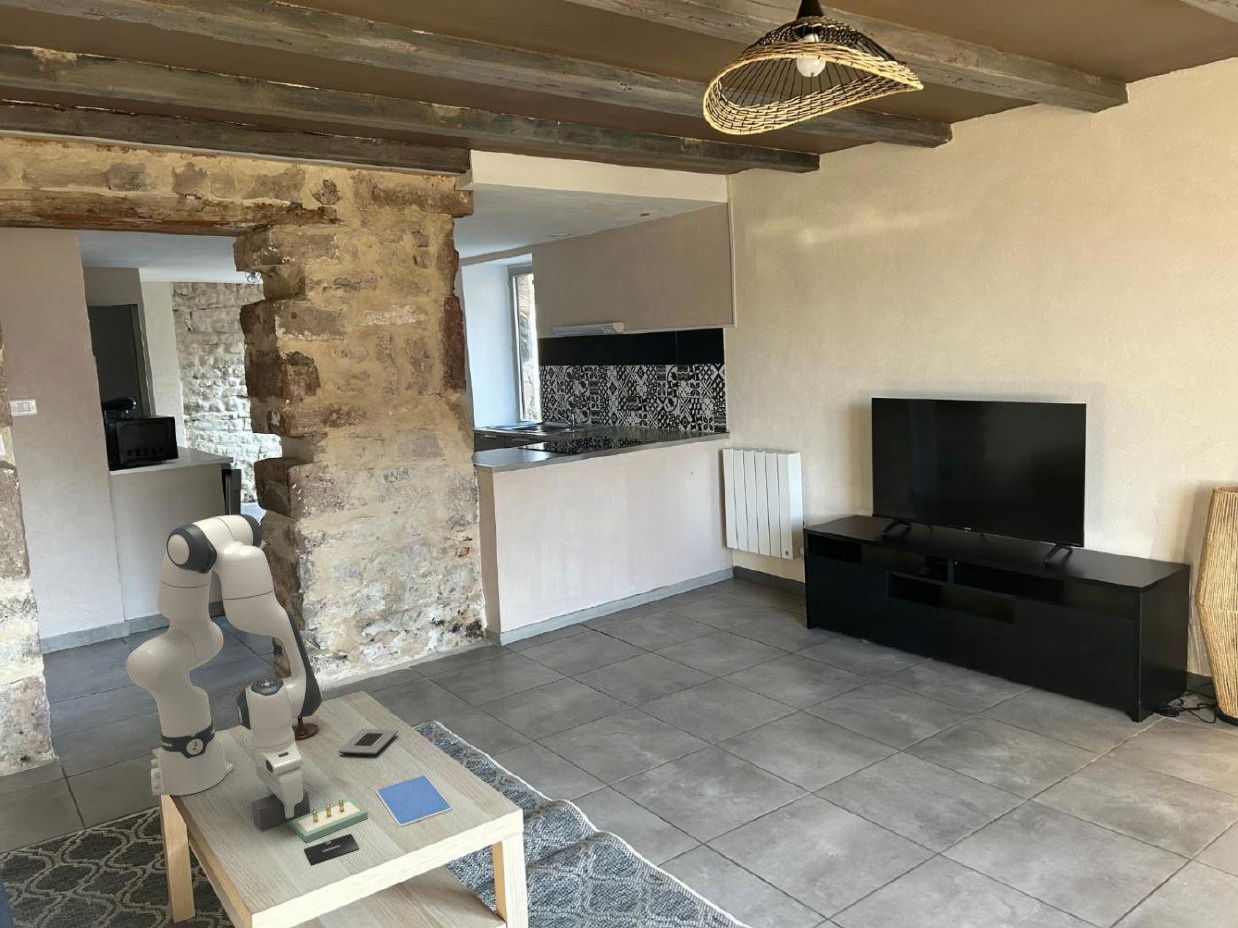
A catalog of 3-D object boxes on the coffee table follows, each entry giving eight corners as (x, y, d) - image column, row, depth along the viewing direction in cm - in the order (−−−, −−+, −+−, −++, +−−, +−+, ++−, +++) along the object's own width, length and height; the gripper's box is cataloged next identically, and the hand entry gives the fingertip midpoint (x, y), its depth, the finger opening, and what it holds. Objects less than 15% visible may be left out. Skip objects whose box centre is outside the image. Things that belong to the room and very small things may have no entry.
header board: (291, 826, 199) (289, 809, 198) (351, 803, 208) (349, 787, 207) (306, 842, 192) (304, 825, 191) (367, 817, 201) (366, 801, 200)
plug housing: (254, 822, 202) (251, 801, 201) (302, 804, 208) (300, 784, 208) (261, 831, 198) (258, 810, 197) (310, 812, 205) (308, 791, 204)
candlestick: (294, 724, 254) (280, 604, 249) (329, 725, 252) (316, 605, 247) (272, 741, 244) (258, 617, 239) (308, 742, 241) (295, 617, 237)
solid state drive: (303, 851, 189) (303, 848, 189) (351, 836, 194) (351, 833, 194) (311, 867, 183) (310, 864, 183) (360, 850, 189) (359, 847, 188)
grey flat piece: (376, 760, 230) (375, 751, 230) (339, 758, 232) (338, 749, 232) (398, 737, 243) (398, 729, 242) (363, 736, 245) (362, 727, 244)
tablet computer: (454, 812, 202) (453, 806, 202) (399, 830, 196) (398, 825, 196) (426, 778, 219) (425, 773, 219) (374, 794, 212) (374, 789, 212)
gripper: (245, 741, 207) (252, 797, 209) (276, 770, 191) (283, 831, 193) (273, 732, 211) (279, 787, 213) (305, 760, 195) (312, 819, 197)
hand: (281, 808), depth 203 cm, fingers open, 8 cm apart
